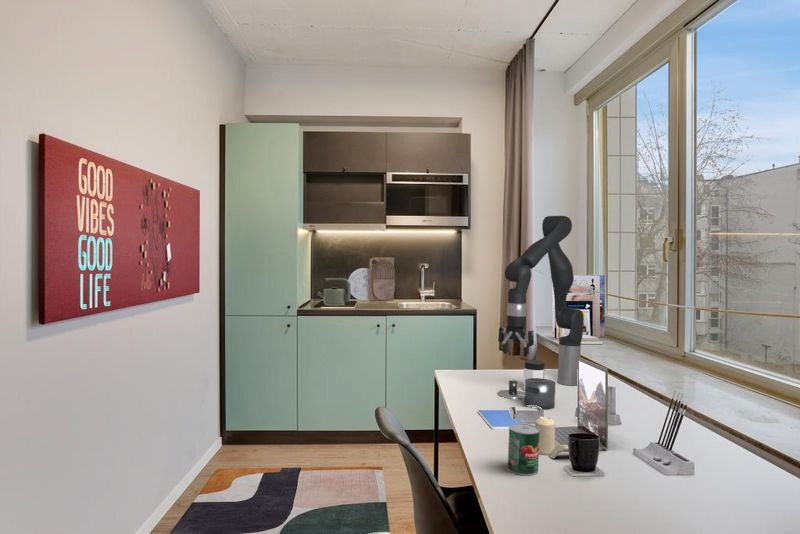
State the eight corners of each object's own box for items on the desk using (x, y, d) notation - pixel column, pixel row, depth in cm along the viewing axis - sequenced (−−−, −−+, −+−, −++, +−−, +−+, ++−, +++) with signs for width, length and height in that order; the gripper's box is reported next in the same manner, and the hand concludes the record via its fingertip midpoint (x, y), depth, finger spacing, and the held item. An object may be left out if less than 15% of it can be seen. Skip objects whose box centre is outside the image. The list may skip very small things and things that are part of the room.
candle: (554, 449, 157) (555, 415, 156) (553, 456, 151) (554, 421, 151) (535, 447, 158) (536, 413, 158) (533, 453, 153) (534, 418, 153)
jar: (548, 391, 223) (549, 362, 223) (536, 394, 218) (537, 365, 218) (530, 387, 230) (531, 359, 230) (518, 389, 225) (519, 361, 225)
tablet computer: (476, 413, 193) (476, 409, 192) (510, 412, 194) (510, 409, 194) (491, 431, 173) (491, 427, 173) (529, 430, 175) (529, 426, 175)
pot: (534, 398, 212) (535, 375, 212) (561, 404, 205) (562, 380, 205) (516, 406, 200) (517, 382, 199) (544, 412, 193) (545, 387, 193)
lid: (506, 390, 224) (506, 376, 224) (533, 396, 217) (533, 381, 217) (492, 396, 215) (492, 381, 215) (519, 402, 207) (520, 386, 207)
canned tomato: (533, 478, 136) (535, 435, 136) (503, 471, 140) (504, 429, 140) (541, 467, 143) (543, 426, 143) (512, 461, 147) (514, 421, 147)
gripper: (537, 315, 213) (536, 356, 213) (504, 312, 221) (503, 351, 222) (529, 316, 207) (528, 358, 207) (496, 313, 216) (494, 353, 216)
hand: (515, 354), depth 215 cm, fingers open, 8 cm apart
